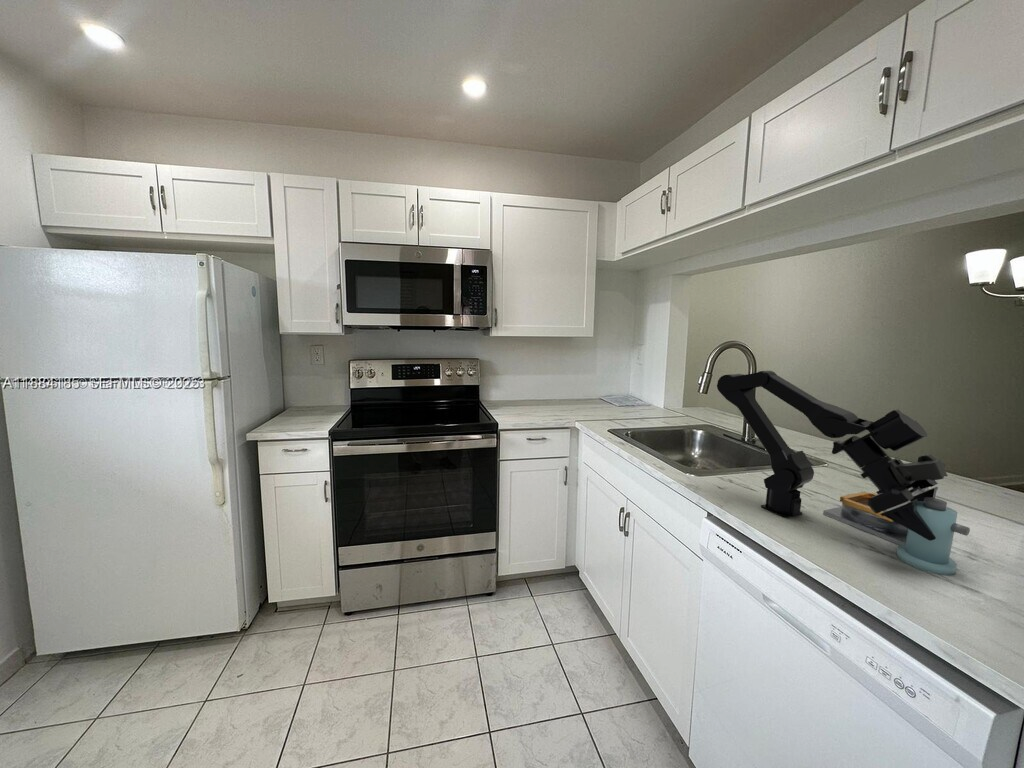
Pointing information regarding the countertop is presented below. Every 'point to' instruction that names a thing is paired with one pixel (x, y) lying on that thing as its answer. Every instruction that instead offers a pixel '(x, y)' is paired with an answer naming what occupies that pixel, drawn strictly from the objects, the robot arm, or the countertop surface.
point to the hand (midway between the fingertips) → (940, 533)
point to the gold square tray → (867, 518)
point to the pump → (937, 551)
